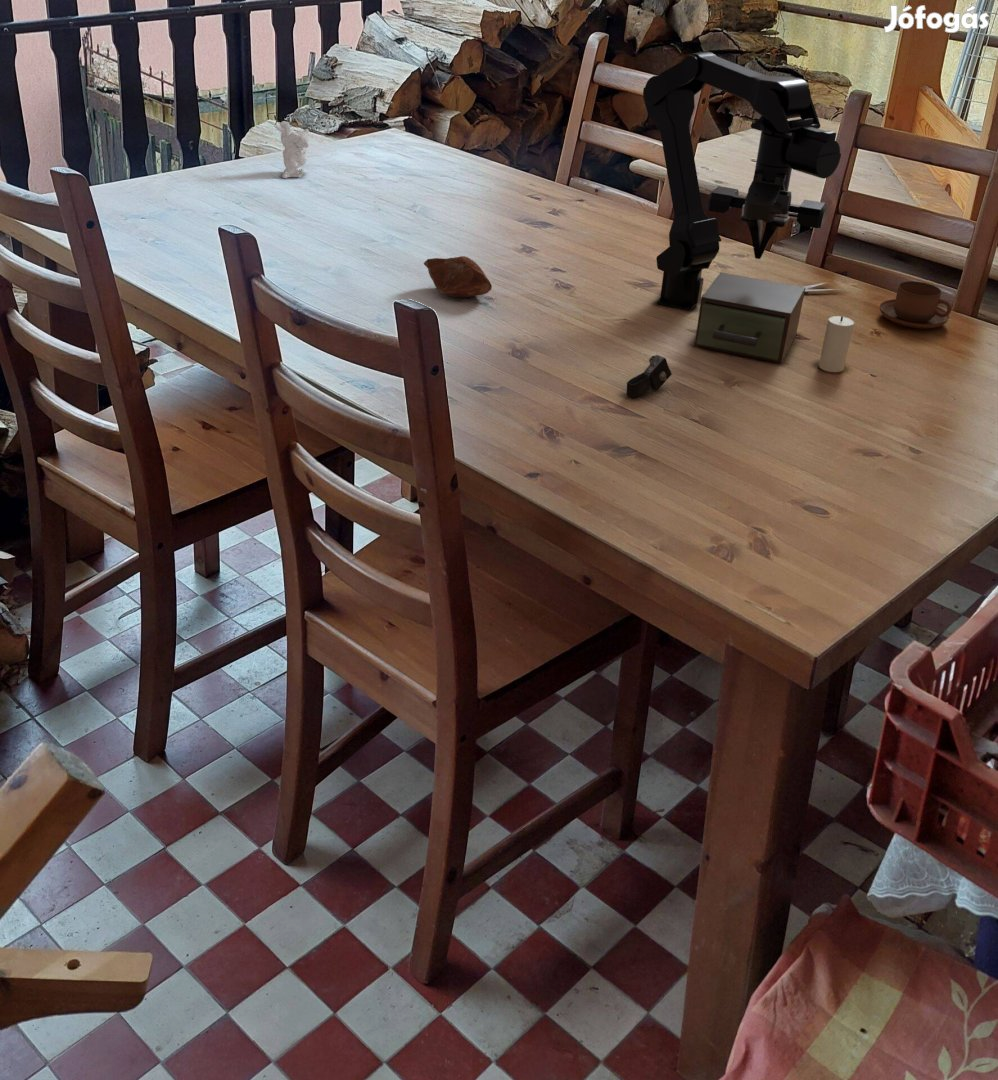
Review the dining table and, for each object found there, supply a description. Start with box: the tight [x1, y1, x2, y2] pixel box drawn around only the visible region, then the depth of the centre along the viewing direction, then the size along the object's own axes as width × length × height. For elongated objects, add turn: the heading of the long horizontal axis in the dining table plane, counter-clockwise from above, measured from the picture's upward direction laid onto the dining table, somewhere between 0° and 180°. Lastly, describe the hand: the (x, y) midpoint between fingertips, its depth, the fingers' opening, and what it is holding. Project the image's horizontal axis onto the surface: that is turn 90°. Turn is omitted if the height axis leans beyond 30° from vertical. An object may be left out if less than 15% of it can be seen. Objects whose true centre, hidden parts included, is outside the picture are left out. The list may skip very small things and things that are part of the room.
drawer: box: [697, 303, 786, 360], centre depth 194 cm, size 17×13×7 cm
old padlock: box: [626, 354, 673, 399], centre depth 179 cm, size 8×2×5 cm
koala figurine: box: [274, 120, 310, 179], centre depth 267 cm, size 8×7×12 cm
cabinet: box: [694, 271, 806, 364], centre depth 197 cm, size 14×15×9 cm
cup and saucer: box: [879, 280, 952, 330], centre depth 210 cm, size 12×12×6 cm
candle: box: [818, 315, 855, 373], centre depth 189 cm, size 4×4×9 cm
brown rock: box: [423, 255, 493, 299], centre depth 208 cm, size 13×8×10 cm
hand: (757, 258), depth 196 cm, fingers closed
